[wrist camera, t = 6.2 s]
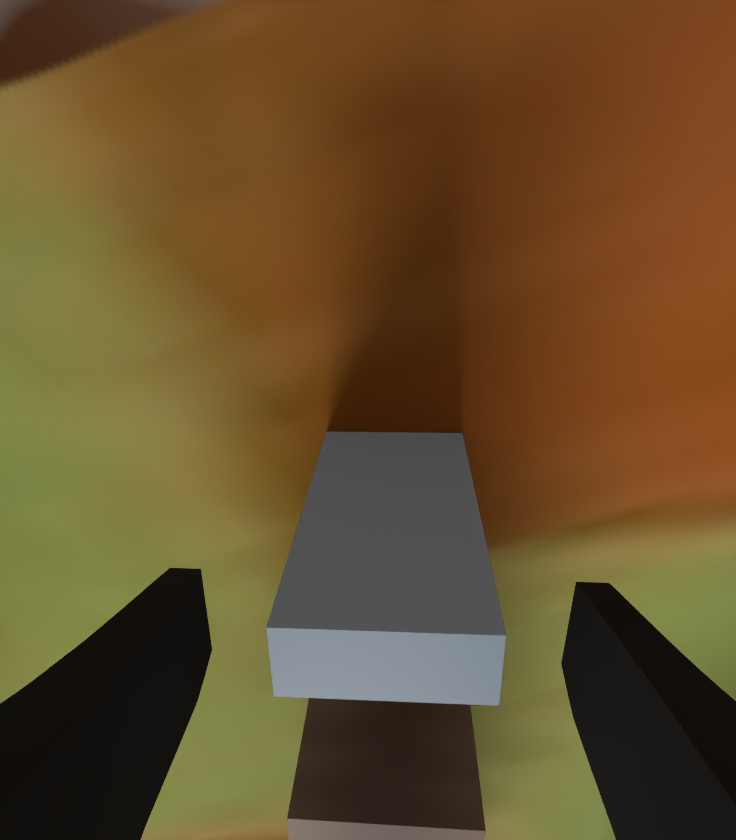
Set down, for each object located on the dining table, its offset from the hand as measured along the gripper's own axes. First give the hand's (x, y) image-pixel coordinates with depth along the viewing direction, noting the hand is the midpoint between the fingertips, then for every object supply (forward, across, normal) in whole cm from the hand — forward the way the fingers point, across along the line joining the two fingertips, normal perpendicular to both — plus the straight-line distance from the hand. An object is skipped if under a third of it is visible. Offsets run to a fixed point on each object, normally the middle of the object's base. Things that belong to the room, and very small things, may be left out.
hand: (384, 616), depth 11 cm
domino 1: (+7, 0, 0) cm, 7 cm away
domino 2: (+7, 0, +5) cm, 8 cm away
